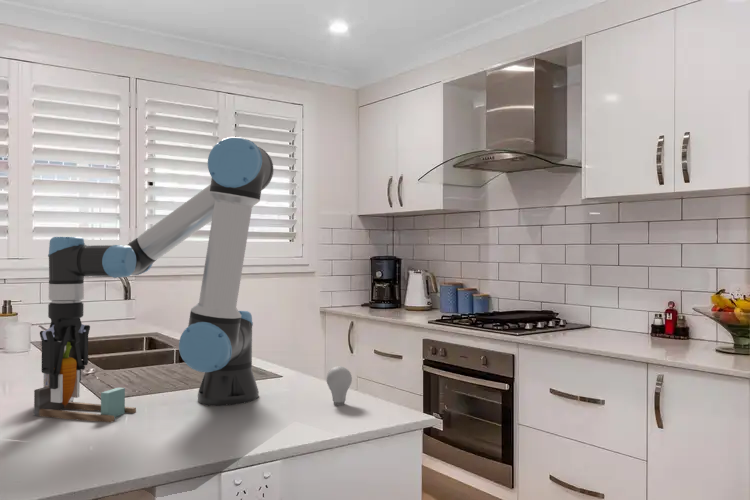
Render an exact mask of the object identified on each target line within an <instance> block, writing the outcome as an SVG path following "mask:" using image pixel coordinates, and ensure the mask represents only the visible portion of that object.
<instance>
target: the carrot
mask: <svg viewBox="0 0 750 500" xmlns="http://www.w3.org/2000/svg"><path fill="white" fill-rule="evenodd" d="M71 347H72V346H71V343H70V342H67V345H66V350H65V352H64V353H63V359H62V364H61V369H60V374H63V401H62V404H63V405H64V406H66V405H67V404H68V402H69V400H70V398H71V396H72V394H73V390H74V386H75V381H76V366H77V363H76V360H75V359H74V358H72V357H69V353H70V349H71ZM54 369H55V368H54Z"/></svg>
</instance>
